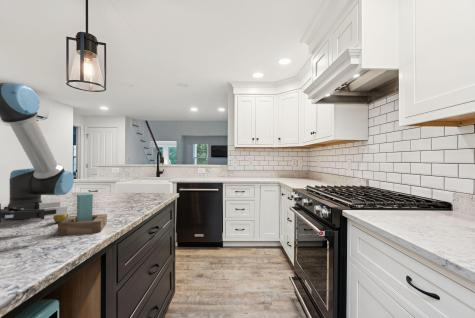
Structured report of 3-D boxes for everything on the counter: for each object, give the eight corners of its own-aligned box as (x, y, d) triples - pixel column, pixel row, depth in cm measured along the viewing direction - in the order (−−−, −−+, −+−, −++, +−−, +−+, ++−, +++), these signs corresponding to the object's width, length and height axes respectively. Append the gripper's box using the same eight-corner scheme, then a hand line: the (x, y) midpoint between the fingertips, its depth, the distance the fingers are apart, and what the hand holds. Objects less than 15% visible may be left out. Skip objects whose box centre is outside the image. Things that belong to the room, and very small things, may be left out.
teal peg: (76, 228, 100) (77, 194, 100) (89, 226, 103) (89, 193, 103) (79, 230, 96) (79, 195, 96) (92, 228, 99) (92, 194, 100)
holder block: (69, 225, 104) (69, 216, 104) (106, 223, 108) (106, 214, 108) (57, 235, 91) (57, 224, 91) (100, 232, 95) (100, 221, 95)
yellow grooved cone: (71, 221, 113) (67, 209, 106) (58, 228, 109) (53, 216, 102) (66, 213, 114) (61, 201, 108) (53, 220, 111) (47, 208, 104)
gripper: (-16, 220, 88) (57, 212, 103) (-18, 235, 71) (70, 223, 86) (-15, 199, 88) (57, 194, 103) (-18, 209, 71) (70, 201, 86)
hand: (63, 207), depth 94 cm, fingers open, 13 cm apart
